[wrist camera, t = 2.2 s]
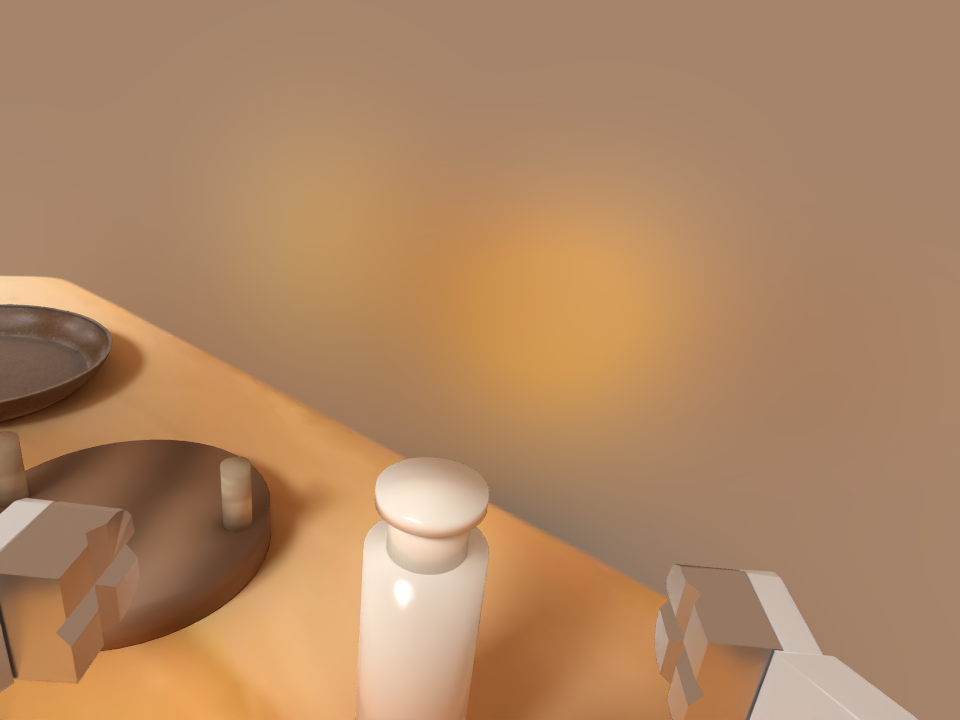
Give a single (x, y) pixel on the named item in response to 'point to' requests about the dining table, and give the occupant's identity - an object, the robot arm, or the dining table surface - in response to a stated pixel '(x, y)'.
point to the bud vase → (422, 592)
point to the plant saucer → (46, 356)
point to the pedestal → (161, 521)
